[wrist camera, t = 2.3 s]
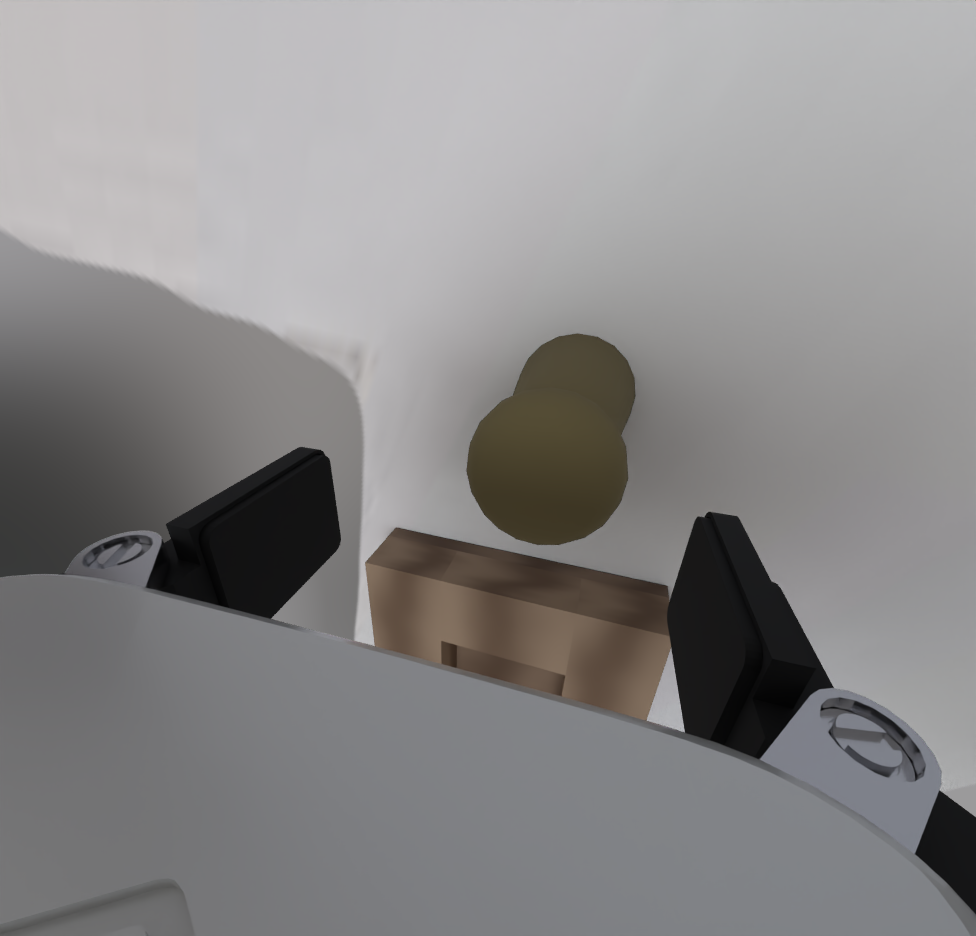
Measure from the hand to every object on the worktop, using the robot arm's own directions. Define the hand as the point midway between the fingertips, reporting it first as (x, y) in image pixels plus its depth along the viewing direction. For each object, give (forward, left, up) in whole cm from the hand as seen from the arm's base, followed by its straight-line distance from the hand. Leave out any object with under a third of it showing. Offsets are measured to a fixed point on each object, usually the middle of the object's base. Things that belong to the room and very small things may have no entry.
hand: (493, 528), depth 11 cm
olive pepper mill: (-1, 0, -13) cm, 13 cm away
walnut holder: (+1, +20, -13) cm, 24 cm away
